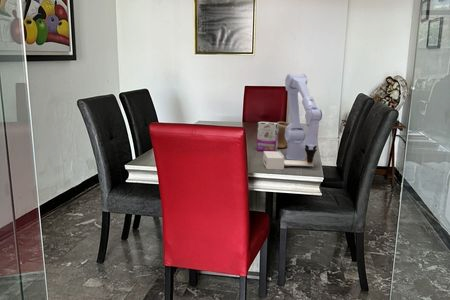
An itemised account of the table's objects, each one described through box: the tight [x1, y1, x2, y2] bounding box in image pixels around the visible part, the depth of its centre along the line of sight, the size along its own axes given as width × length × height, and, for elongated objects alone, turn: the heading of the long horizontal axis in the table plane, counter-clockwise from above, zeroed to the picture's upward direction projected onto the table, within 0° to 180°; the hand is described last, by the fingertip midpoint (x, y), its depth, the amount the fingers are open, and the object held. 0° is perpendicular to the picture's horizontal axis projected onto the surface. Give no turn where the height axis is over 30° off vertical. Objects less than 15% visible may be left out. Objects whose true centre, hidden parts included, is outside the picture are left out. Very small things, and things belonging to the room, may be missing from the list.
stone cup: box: [276, 121, 290, 149], centre depth 238 cm, size 15×12×15 cm
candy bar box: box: [256, 121, 279, 152], centre depth 225 cm, size 11×5×16 cm, turn 69°
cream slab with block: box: [284, 156, 314, 167], centre depth 195 cm, size 14×8×5 cm, turn 92°
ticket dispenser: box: [262, 150, 286, 171], centre depth 195 cm, size 8×14×6 cm, turn 2°
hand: (309, 161), depth 196 cm, fingers closed on cream slab with block, 5 cm apart
